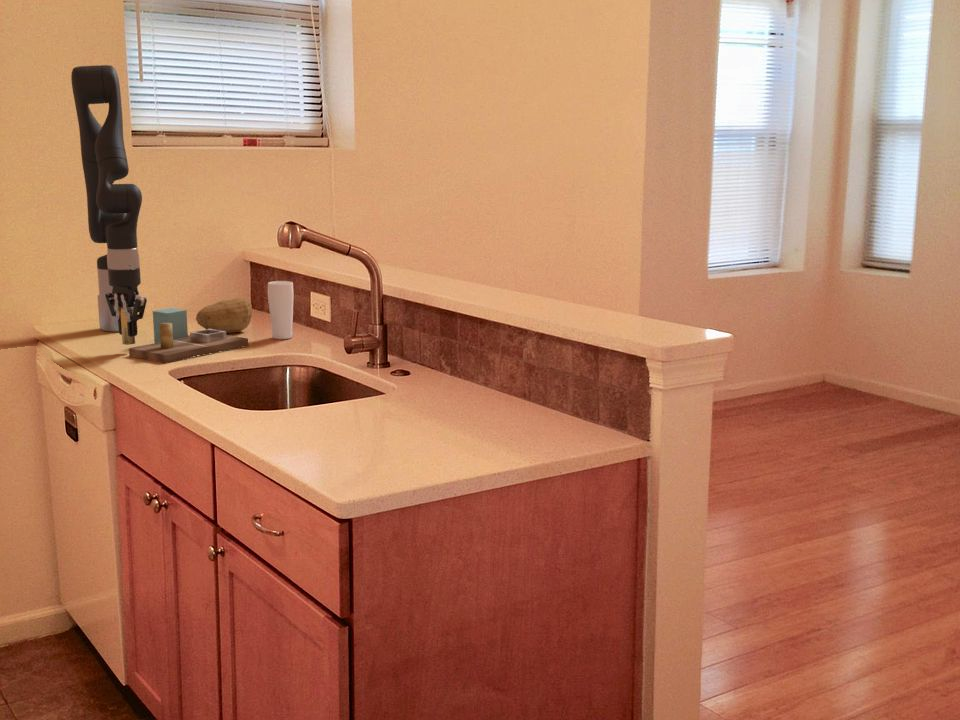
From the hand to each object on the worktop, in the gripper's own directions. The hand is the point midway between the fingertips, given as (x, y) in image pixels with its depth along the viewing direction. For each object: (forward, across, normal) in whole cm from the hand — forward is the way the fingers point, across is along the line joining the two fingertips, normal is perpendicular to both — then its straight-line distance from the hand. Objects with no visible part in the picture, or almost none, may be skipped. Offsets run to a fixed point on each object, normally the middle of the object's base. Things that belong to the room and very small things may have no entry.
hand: (128, 334), depth 268 cm
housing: (+5, -1, +14) cm, 14 cm away
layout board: (+5, +10, +10) cm, 15 cm away
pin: (+2, 0, 0) cm, 2 cm away
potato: (+5, -2, +33) cm, 33 cm away
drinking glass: (+5, +16, +36) cm, 40 cm away
